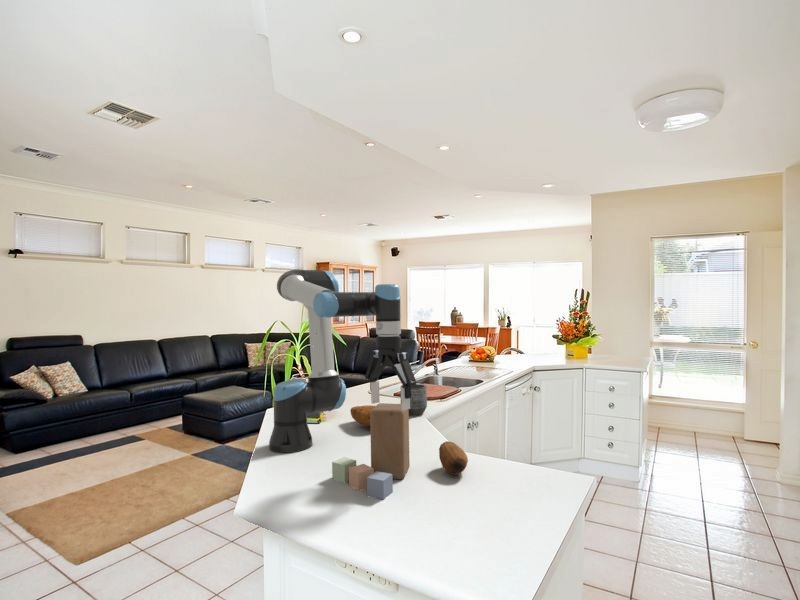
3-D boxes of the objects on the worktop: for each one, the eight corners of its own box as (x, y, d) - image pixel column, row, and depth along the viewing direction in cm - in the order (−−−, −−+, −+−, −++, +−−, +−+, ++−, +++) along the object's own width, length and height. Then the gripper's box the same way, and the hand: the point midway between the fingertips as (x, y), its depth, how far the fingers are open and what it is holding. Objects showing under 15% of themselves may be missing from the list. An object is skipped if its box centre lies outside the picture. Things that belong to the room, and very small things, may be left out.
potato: (463, 488, 129) (442, 477, 126) (448, 462, 142) (429, 451, 139) (478, 468, 128) (458, 456, 126) (462, 443, 141) (443, 432, 139)
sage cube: (332, 479, 130) (332, 461, 130) (344, 473, 134) (344, 457, 134) (344, 483, 127) (344, 465, 127) (356, 477, 131) (356, 460, 131)
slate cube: (367, 496, 118) (366, 477, 118) (376, 489, 122) (376, 471, 122) (383, 500, 115) (383, 480, 115) (392, 492, 120) (392, 473, 120)
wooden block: (404, 480, 128) (402, 411, 128) (370, 478, 130) (369, 409, 130) (410, 468, 137) (409, 403, 138) (378, 466, 139) (377, 402, 140)
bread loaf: (405, 429, 181) (404, 409, 181) (365, 435, 173) (365, 414, 173) (383, 417, 200) (383, 399, 201) (347, 422, 193) (347, 403, 193)
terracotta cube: (349, 485, 125) (348, 467, 125) (363, 481, 128) (363, 463, 128) (358, 491, 121) (358, 472, 121) (373, 486, 124) (373, 468, 124)
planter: (427, 416, 199) (427, 388, 199) (400, 417, 199) (400, 388, 200) (426, 410, 211) (426, 383, 212) (400, 410, 212) (400, 383, 212)
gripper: (353, 334, 140) (354, 402, 140) (408, 337, 122) (410, 414, 122) (371, 333, 146) (373, 398, 145) (427, 335, 127) (429, 410, 127)
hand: (390, 406), depth 134 cm, fingers open, 13 cm apart
